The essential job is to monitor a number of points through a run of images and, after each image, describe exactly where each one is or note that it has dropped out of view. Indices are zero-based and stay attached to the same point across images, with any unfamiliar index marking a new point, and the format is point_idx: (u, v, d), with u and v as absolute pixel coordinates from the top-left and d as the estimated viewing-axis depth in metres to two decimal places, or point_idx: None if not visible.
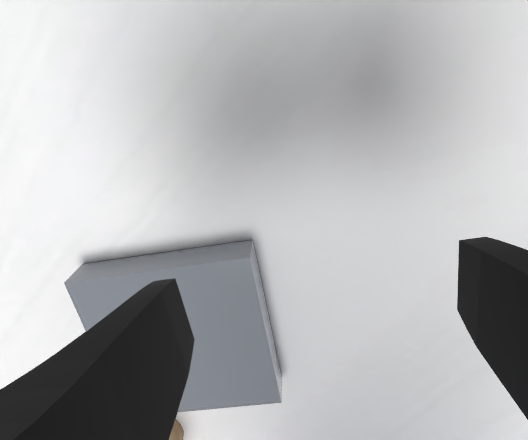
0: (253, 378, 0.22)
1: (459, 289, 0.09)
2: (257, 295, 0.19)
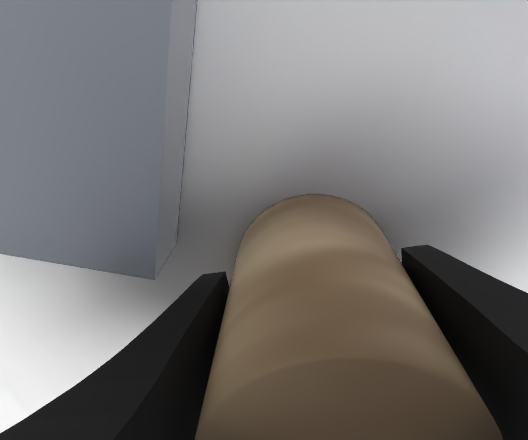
0: None
1: None
2: None
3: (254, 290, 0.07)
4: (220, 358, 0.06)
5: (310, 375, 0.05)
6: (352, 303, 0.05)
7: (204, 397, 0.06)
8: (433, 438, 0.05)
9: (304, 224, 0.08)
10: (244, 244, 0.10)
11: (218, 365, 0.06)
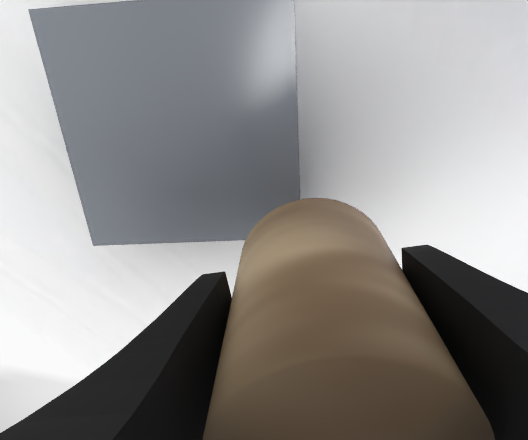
0: (239, 33, 0.14)
1: None
2: (88, 5, 0.14)
3: (254, 295, 0.07)
4: (224, 361, 0.06)
5: (305, 374, 0.05)
6: (345, 305, 0.06)
7: (211, 398, 0.06)
8: (425, 428, 0.05)
9: (301, 230, 0.08)
10: (246, 249, 0.10)
11: (222, 367, 0.06)
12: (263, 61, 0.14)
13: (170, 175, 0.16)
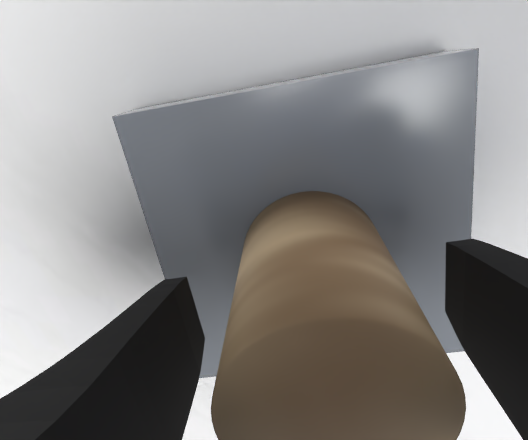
0: (396, 116, 0.10)
1: (446, 291, 0.09)
2: (190, 103, 0.10)
3: (254, 276, 0.08)
4: (229, 333, 0.07)
5: (297, 335, 0.06)
6: (332, 279, 0.07)
7: None
8: (403, 381, 0.06)
9: (296, 219, 0.09)
10: (247, 240, 0.11)
11: (228, 338, 0.07)
12: (428, 147, 0.10)
13: None
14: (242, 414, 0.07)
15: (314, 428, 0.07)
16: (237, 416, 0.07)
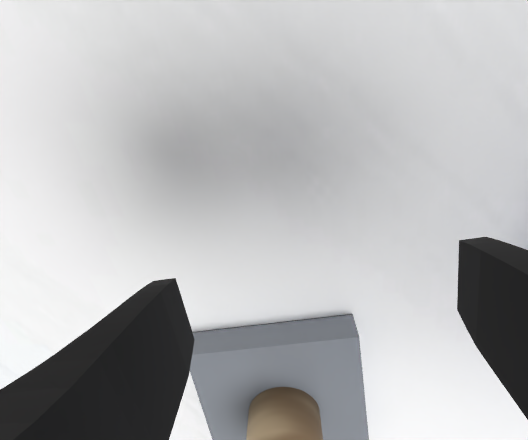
0: (323, 359, 0.21)
1: (459, 289, 0.09)
2: (223, 351, 0.21)
3: None
4: None
5: None
6: None
7: None
8: None
9: (274, 416, 0.20)
10: (251, 414, 0.22)
11: None
12: (340, 371, 0.21)
13: None
14: None
15: None
16: None
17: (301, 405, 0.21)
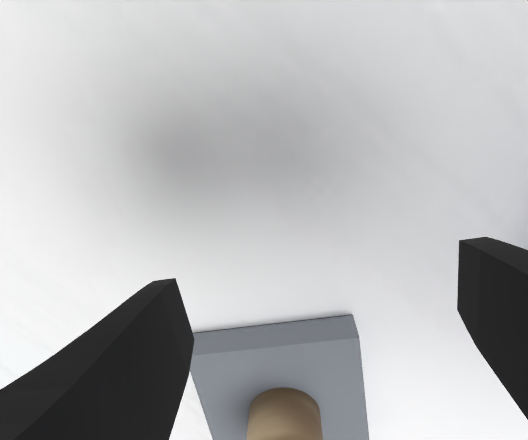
0: (323, 360, 0.21)
1: (459, 289, 0.09)
2: (224, 352, 0.21)
3: None
4: None
5: None
6: None
7: None
8: None
9: (274, 417, 0.20)
10: (251, 415, 0.22)
11: None
12: (340, 372, 0.21)
13: None
14: None
15: None
16: None
17: (301, 406, 0.21)
